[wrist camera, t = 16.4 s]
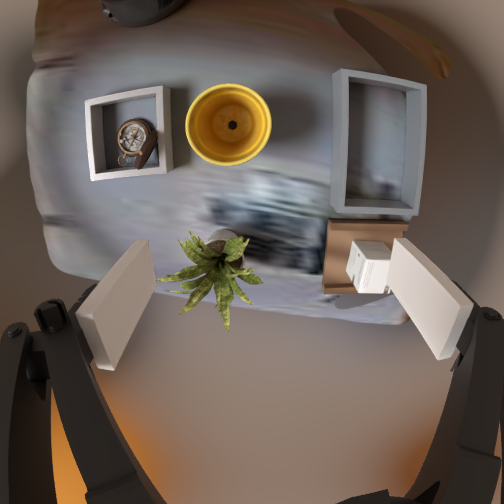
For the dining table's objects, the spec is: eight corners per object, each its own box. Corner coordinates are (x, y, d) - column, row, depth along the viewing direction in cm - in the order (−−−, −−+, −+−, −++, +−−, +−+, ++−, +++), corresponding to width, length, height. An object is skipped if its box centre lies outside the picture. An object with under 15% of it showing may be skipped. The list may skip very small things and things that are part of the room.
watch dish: (96, 101, 39) (84, 100, 35) (170, 88, 38) (162, 85, 35) (102, 175, 44) (91, 180, 40) (173, 169, 44) (166, 173, 40)
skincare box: (351, 239, 48) (366, 258, 41) (383, 241, 48) (400, 260, 41) (345, 271, 50) (357, 293, 43) (375, 272, 50) (390, 294, 43)
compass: (127, 112, 40) (107, 112, 33) (168, 132, 42) (153, 135, 35) (108, 156, 43) (86, 163, 36) (146, 176, 44) (129, 186, 38)
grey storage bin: (332, 74, 37) (341, 68, 33) (411, 87, 37) (426, 85, 33) (329, 203, 46) (337, 212, 42) (404, 206, 46) (417, 215, 41)
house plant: (202, 179, 45) (177, 209, 30) (282, 216, 47) (295, 262, 32) (171, 254, 50) (141, 309, 35) (243, 286, 52) (240, 349, 38)
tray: (328, 218, 47) (331, 223, 45) (402, 220, 47) (408, 224, 45) (321, 287, 53) (324, 294, 50) (390, 284, 52) (394, 290, 50)
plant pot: (266, 159, 43) (269, 168, 34) (198, 157, 43) (183, 166, 34) (269, 93, 39) (274, 84, 30) (200, 91, 39) (186, 83, 30)
